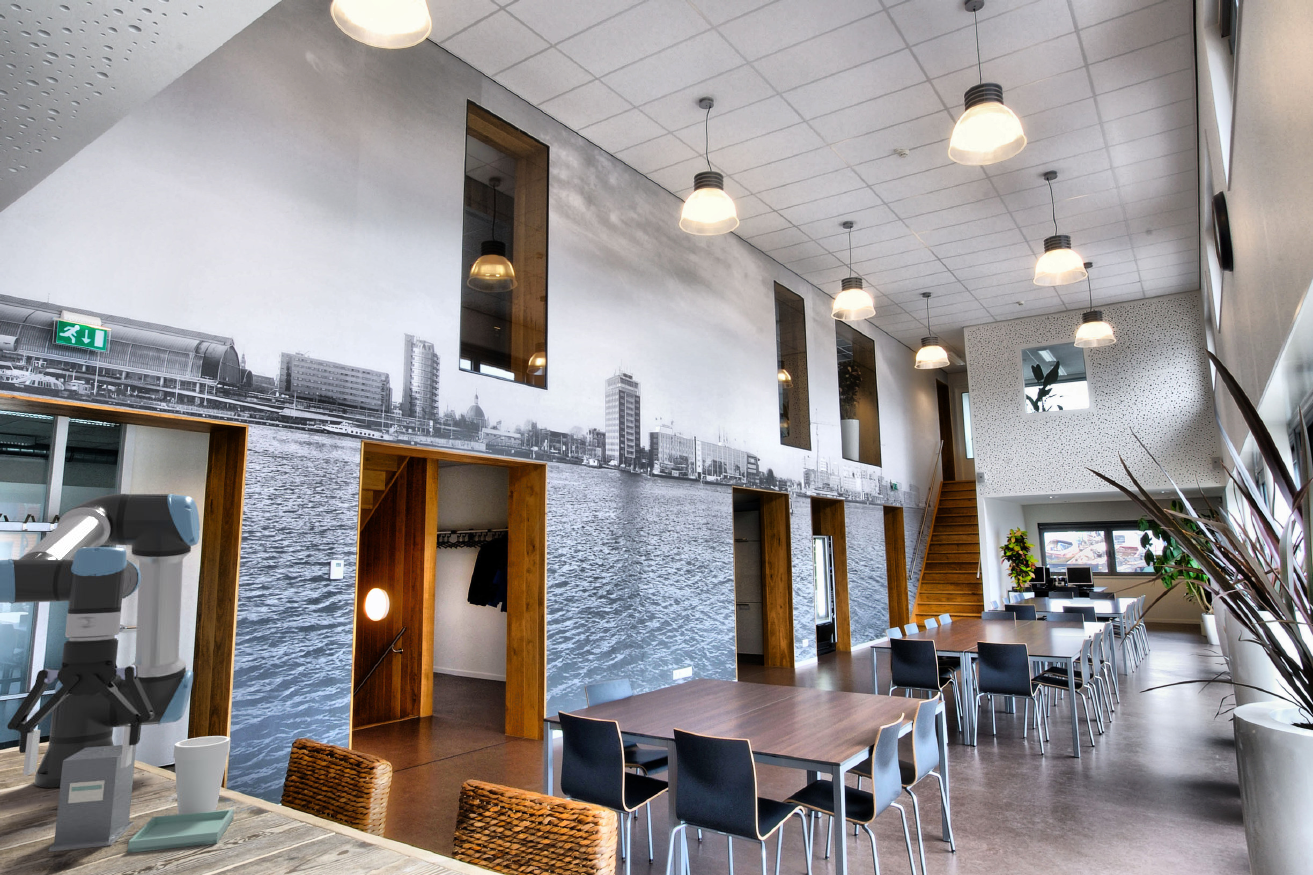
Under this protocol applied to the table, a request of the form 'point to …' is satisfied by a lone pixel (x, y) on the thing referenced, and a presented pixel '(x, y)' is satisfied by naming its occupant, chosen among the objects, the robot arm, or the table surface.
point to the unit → (93, 798)
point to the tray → (181, 830)
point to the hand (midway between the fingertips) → (78, 769)
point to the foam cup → (200, 772)
